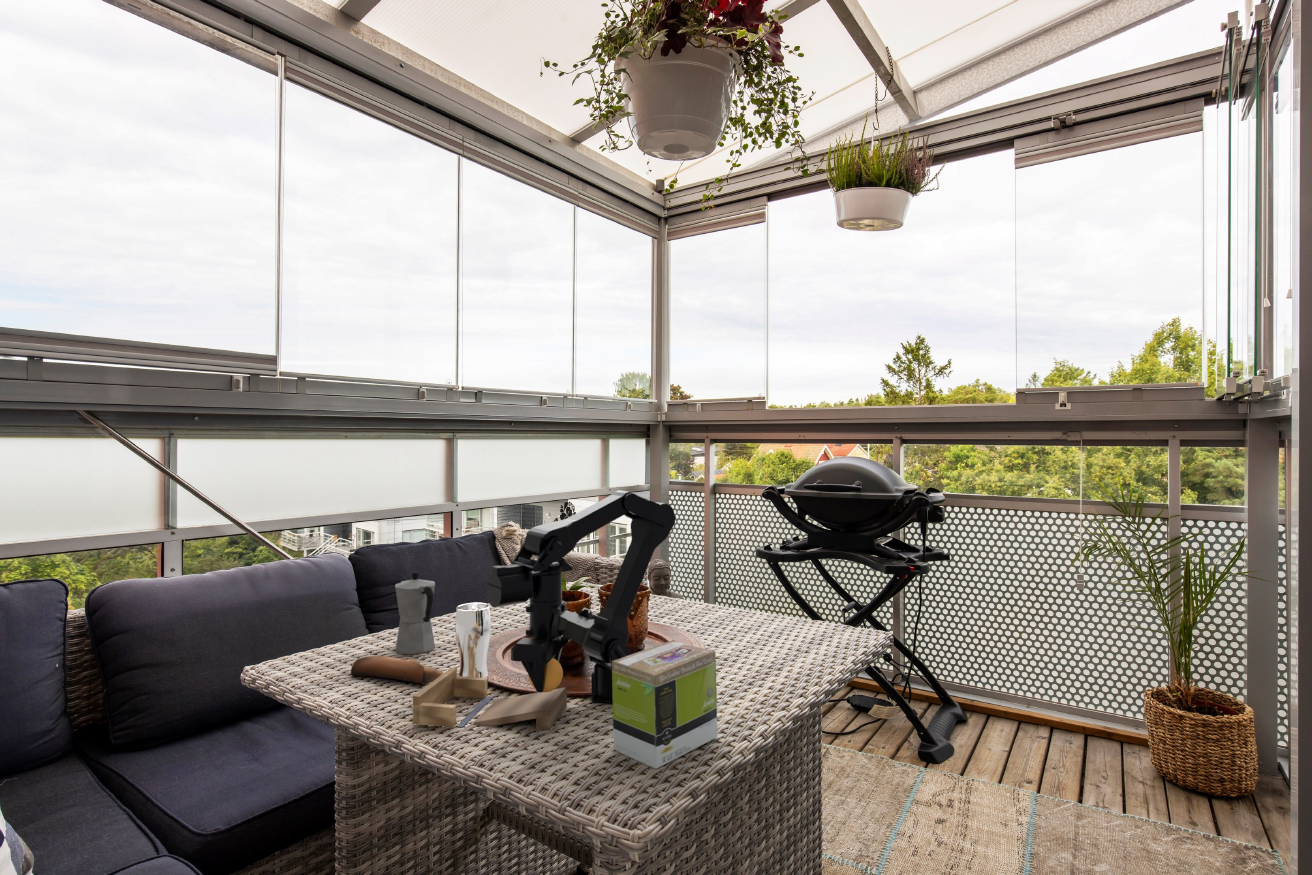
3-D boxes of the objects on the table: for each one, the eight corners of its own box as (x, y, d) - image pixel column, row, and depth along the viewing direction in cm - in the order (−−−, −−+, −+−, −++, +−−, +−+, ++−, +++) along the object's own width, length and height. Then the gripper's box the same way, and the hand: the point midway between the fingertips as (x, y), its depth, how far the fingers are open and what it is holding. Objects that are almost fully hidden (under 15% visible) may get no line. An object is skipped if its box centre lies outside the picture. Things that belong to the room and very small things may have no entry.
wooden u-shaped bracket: (494, 696, 132) (494, 670, 132) (460, 728, 118) (460, 699, 118) (451, 693, 134) (451, 667, 134) (412, 724, 120) (412, 696, 120)
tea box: (673, 721, 121) (674, 637, 121) (718, 739, 114) (719, 650, 114) (610, 750, 111) (610, 658, 110) (655, 771, 104) (656, 673, 103)
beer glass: (481, 687, 137) (481, 611, 137) (449, 684, 139) (449, 609, 138) (496, 674, 144) (496, 603, 144) (465, 672, 145) (465, 601, 145)
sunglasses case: (448, 672, 145) (438, 649, 142) (431, 699, 140) (420, 677, 136) (377, 663, 151) (366, 641, 148) (358, 689, 145) (346, 667, 142)
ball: (535, 683, 127) (535, 651, 126) (567, 685, 126) (567, 653, 125) (523, 696, 121) (523, 662, 121) (556, 698, 120) (556, 664, 120)
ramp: (567, 711, 128) (567, 687, 128) (549, 735, 118) (549, 708, 118) (495, 706, 130) (495, 682, 130) (473, 729, 120) (473, 703, 120)
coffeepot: (384, 646, 163) (384, 569, 163) (422, 637, 169) (422, 564, 169) (411, 662, 152) (411, 580, 151) (451, 653, 158) (451, 574, 158)
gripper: (574, 614, 112) (574, 709, 112) (602, 588, 131) (602, 670, 131) (509, 610, 114) (509, 704, 114) (546, 585, 133) (546, 666, 133)
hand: (545, 685), depth 123 cm, fingers closed on ball, 6 cm apart
